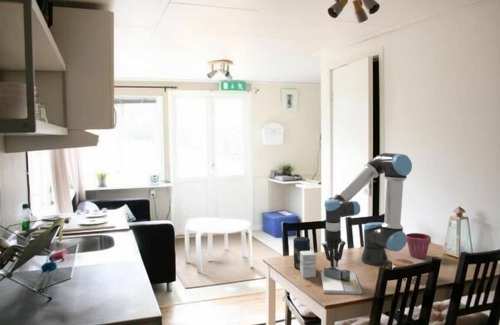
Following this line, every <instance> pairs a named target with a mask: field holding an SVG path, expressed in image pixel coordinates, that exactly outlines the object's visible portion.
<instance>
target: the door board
mask: <svg viewBox="0 0 500 325" xmlns="http://www.w3.org/2000/svg"><path fill="white" fill-rule="evenodd" d="M320 280H321V283H322V289H323V290H322V291H323V294H340V295H341V294H342V295H343V294H348V295H363V290H362V288H361V285H360V283H359V280H358V278H357V275H356V274H355V272H350V281H343V280H342V279H341V280H340V279H336V278H332V277H328V276H324V270H322V271H320Z"/></svg>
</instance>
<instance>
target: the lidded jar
mask: <svg viewBox="0 0 500 325" xmlns="http://www.w3.org/2000/svg"><path fill="white" fill-rule="evenodd" d="M391 263H392V264H391V265H392V269H393V268H394V267H402V266H408V265H413V264H414V265H415V263H414V262H413V261H411V260H409V259H405V258H400V259H399V258H396V259H393V260H392V262H391Z"/></svg>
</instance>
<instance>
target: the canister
mask: <svg viewBox="0 0 500 325" xmlns="http://www.w3.org/2000/svg"><path fill="white" fill-rule="evenodd" d="M300 251H311V241H310V238H309V237H306V236H297V237H294V238H293V265H294V267H295V268H296V269H299V270H300Z"/></svg>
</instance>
